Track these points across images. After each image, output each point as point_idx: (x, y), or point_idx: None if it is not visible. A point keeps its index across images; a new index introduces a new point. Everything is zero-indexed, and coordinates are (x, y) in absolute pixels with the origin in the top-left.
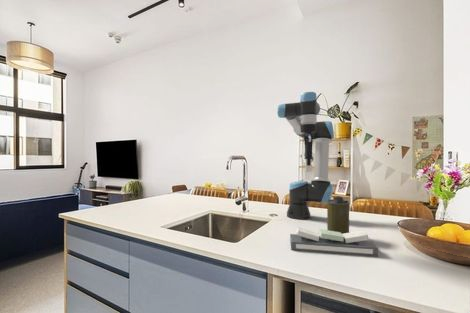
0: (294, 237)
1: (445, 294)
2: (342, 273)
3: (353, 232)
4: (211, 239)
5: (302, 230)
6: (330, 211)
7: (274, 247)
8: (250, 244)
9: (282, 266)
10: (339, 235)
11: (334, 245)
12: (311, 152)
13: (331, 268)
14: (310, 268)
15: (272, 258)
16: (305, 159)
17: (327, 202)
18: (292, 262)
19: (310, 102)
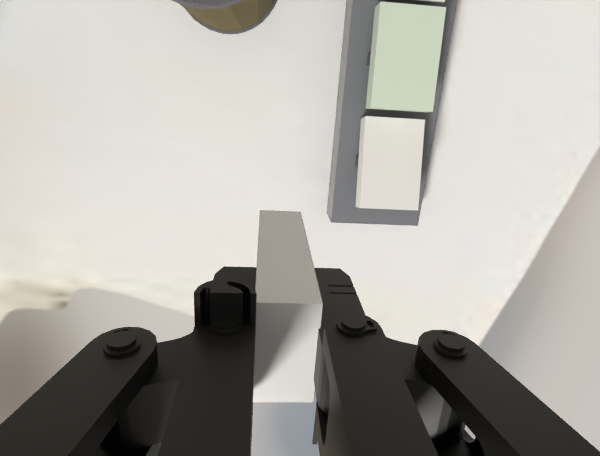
0: (371, 209)
1: None
2: (578, 81)
3: None
4: None
5: (398, 189)
6: (249, 3)
7: (389, 268)
8: None
9: (523, 248)
10: (431, 24)
11: (445, 60)
12: (559, 434)
13: (546, 107)
14: (540, 172)
15: (472, 273)
16: (259, 393)
17: (200, 5)
18: (500, 219)
19: None
